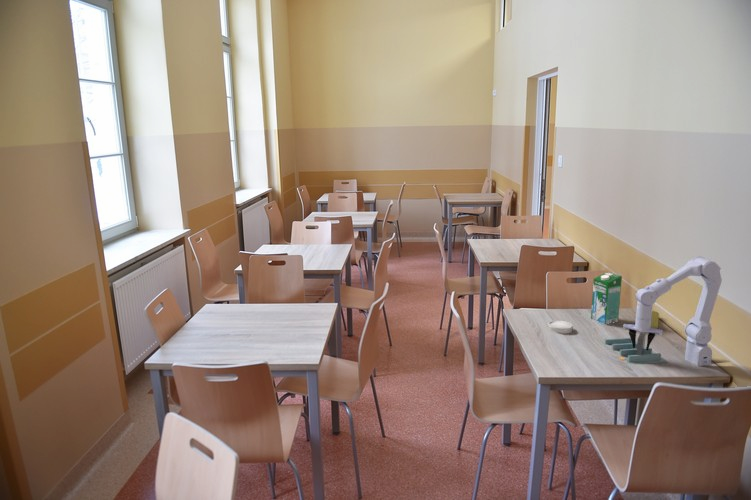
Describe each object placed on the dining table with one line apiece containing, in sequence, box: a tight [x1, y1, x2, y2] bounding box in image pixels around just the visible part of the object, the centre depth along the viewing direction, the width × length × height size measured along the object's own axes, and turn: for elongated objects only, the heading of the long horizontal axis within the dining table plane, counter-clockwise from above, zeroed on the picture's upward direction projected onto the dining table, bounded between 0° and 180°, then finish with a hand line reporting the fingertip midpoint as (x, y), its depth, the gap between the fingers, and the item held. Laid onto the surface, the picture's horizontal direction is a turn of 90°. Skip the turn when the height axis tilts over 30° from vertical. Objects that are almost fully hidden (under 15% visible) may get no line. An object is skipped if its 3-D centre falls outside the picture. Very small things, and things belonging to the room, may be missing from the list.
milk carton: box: [590, 272, 623, 325], centre depth 261 cm, size 9×9×25 cm
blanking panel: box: [636, 332, 647, 355], centre depth 220 cm, size 2×8×7 cm, turn 146°
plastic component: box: [636, 308, 660, 329], centre depth 262 cm, size 20×7×10 cm, turn 168°
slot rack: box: [604, 337, 667, 364], centre depth 226 cm, size 21×18×3 cm
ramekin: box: [547, 320, 574, 334], centre depth 249 cm, size 11×11×5 cm
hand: (640, 348), depth 220 cm, fingers open, 4 cm apart
